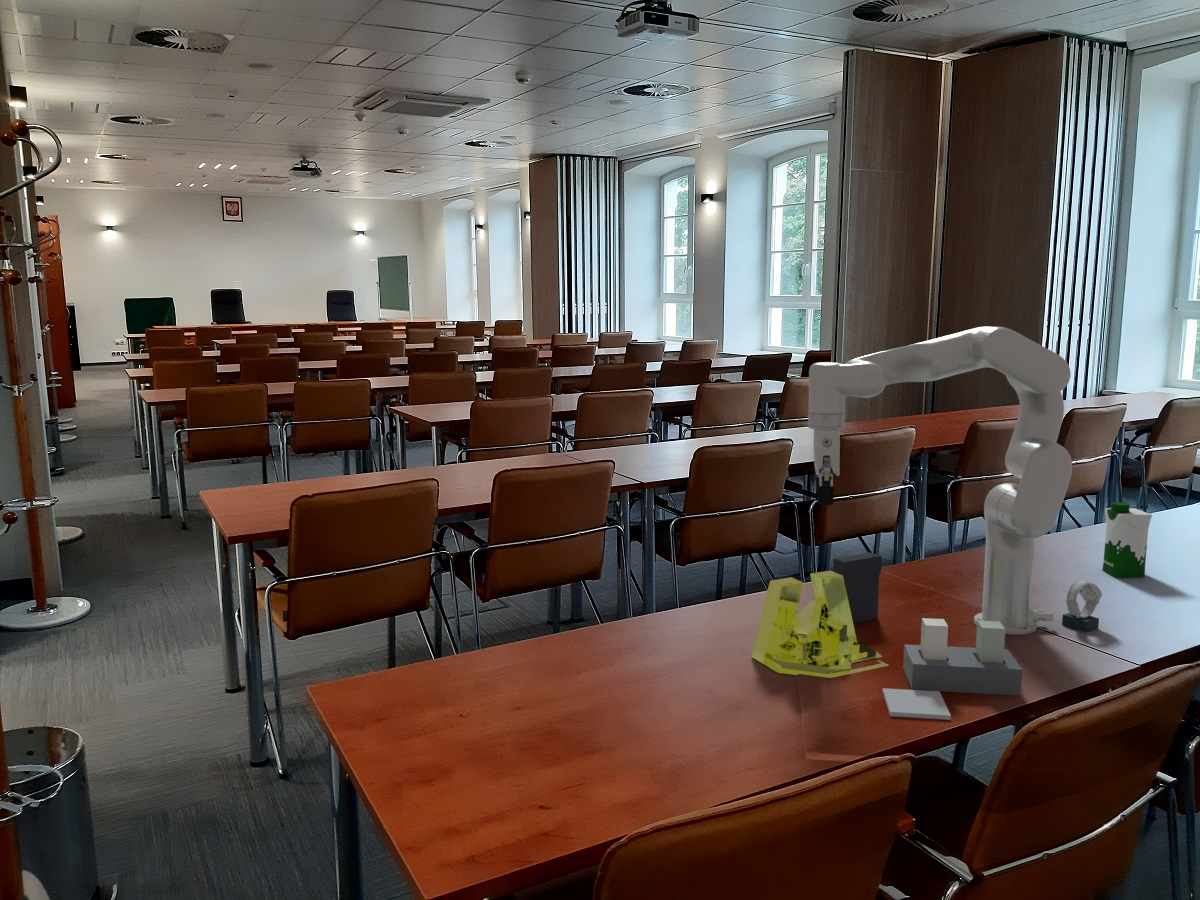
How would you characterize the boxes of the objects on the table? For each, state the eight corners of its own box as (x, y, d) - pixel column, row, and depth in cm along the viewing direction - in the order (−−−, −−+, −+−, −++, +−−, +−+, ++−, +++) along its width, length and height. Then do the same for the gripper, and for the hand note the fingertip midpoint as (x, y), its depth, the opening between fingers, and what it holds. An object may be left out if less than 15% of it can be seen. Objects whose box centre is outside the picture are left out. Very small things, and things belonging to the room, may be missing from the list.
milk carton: (1096, 574, 239) (1101, 499, 236) (1131, 574, 239) (1137, 499, 236) (1114, 584, 230) (1120, 507, 227) (1150, 584, 230) (1157, 506, 227)
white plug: (941, 669, 175) (943, 619, 173) (945, 677, 171) (948, 626, 169) (919, 668, 175) (921, 618, 174) (923, 676, 171) (925, 625, 170)
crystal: (745, 653, 188) (746, 580, 186) (842, 634, 198) (844, 564, 196) (799, 686, 172) (801, 606, 169) (903, 664, 182) (906, 588, 179)
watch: (1103, 630, 198) (1107, 581, 197) (1080, 637, 194) (1084, 587, 193) (1079, 623, 203) (1082, 575, 201) (1056, 629, 199) (1059, 580, 198)
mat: (939, 695, 166) (939, 691, 166) (950, 719, 157) (950, 715, 157) (882, 692, 168) (882, 688, 168) (890, 716, 158) (890, 711, 158)
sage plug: (996, 672, 173) (999, 621, 171) (1002, 680, 169) (1005, 628, 168) (974, 670, 174) (977, 620, 172) (979, 679, 170) (982, 627, 168)
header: (1006, 674, 176) (1007, 649, 175) (1020, 695, 166) (1022, 669, 165) (903, 668, 179) (904, 644, 178) (911, 689, 169) (912, 664, 168)
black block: (866, 614, 211) (868, 551, 208) (879, 619, 207) (882, 555, 204) (829, 622, 206) (830, 557, 203) (842, 627, 202) (844, 562, 200)
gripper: (847, 426, 184) (845, 509, 187) (842, 416, 201) (840, 492, 204) (809, 426, 186) (807, 508, 189) (807, 415, 203) (805, 491, 205)
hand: (824, 499), depth 196 cm, fingers open, 9 cm apart
